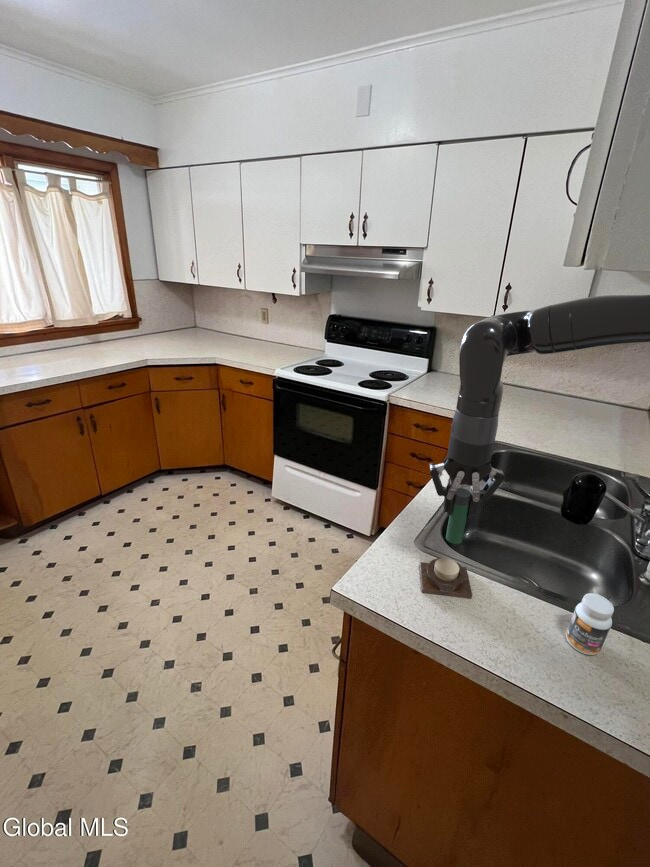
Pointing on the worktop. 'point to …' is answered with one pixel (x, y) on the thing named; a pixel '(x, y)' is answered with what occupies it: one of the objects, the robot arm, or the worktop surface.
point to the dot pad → (446, 569)
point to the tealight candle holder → (444, 582)
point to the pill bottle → (590, 624)
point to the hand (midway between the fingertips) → (458, 513)
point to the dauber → (458, 516)
